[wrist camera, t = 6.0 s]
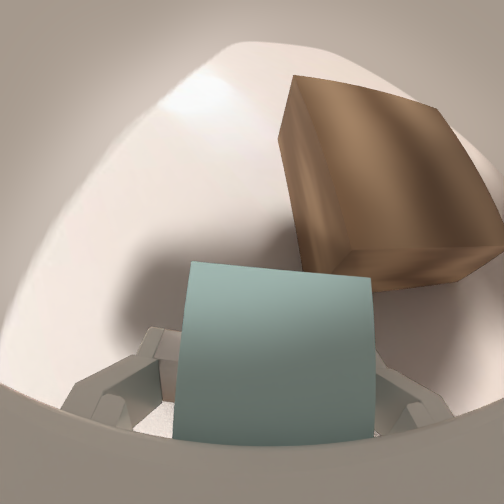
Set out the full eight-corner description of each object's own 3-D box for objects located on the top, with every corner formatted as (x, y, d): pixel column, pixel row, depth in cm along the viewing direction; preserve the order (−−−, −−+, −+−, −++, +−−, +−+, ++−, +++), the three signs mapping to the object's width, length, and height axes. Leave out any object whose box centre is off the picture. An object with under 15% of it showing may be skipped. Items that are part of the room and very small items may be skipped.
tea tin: (293, 335, 14) (370, 277, 7) (290, 420, 12) (371, 453, 5) (205, 328, 14) (191, 260, 6) (197, 415, 12) (171, 456, 5)
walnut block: (405, 156, 22) (436, 108, 17) (455, 282, 17) (512, 245, 11) (276, 142, 20) (293, 74, 15) (305, 299, 15) (352, 250, 10)
